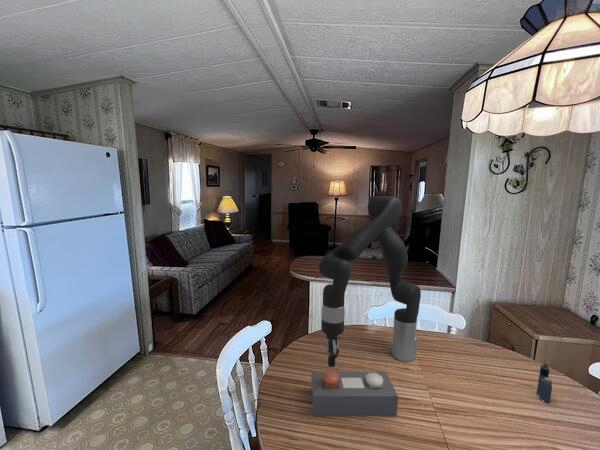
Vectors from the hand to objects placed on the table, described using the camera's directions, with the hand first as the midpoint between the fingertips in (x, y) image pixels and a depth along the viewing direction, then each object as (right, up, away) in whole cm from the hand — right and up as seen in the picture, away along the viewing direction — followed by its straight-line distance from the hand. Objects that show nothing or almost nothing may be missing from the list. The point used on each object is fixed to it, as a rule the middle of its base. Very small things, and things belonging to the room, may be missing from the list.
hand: (331, 365), depth 94 cm
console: (+7, -14, +2) cm, 15 cm away
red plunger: (0, -11, +1) cm, 11 cm away
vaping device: (+77, -15, +6) cm, 78 cm away
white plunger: (+15, -12, +2) cm, 19 cm away
